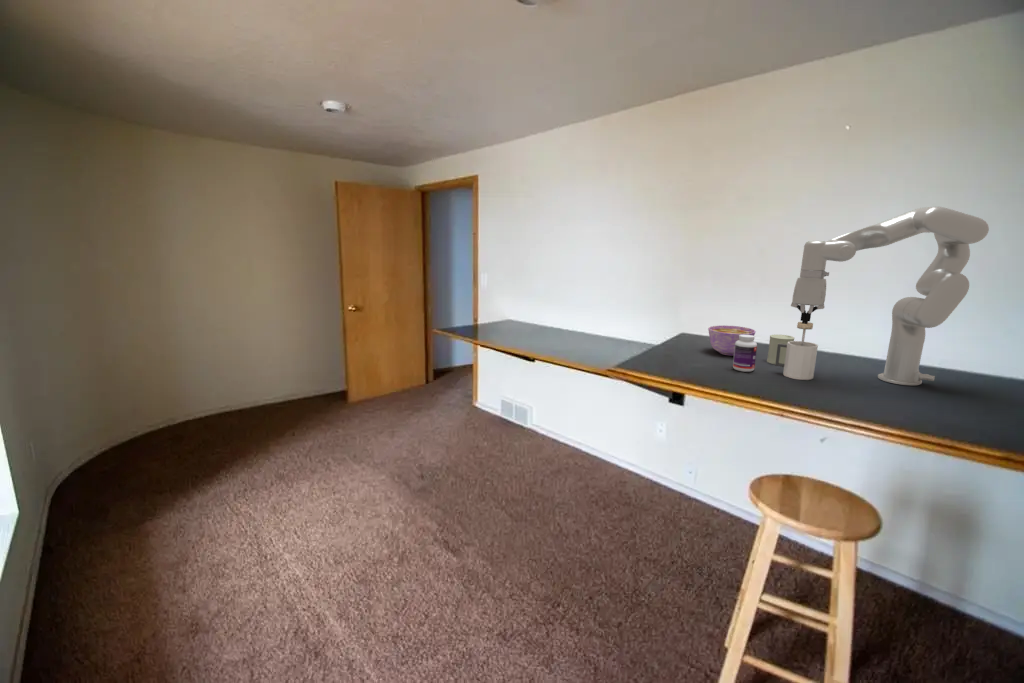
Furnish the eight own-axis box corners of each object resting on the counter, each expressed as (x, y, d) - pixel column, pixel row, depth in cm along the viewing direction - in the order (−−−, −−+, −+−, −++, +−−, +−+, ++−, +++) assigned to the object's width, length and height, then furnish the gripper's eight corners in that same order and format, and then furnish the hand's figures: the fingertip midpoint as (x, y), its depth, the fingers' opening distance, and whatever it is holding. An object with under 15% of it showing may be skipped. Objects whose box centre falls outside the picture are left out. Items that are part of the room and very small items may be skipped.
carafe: (814, 375, 176) (819, 343, 174) (811, 381, 169) (816, 348, 166) (776, 369, 184) (780, 338, 181) (772, 375, 177) (776, 343, 174)
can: (795, 365, 190) (799, 337, 188) (773, 365, 190) (777, 338, 188) (783, 359, 199) (786, 333, 197) (762, 359, 199) (765, 333, 197)
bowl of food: (697, 349, 218) (699, 326, 216) (734, 347, 222) (736, 324, 219) (723, 360, 199) (725, 334, 197) (763, 357, 203) (766, 332, 200)
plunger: (812, 357, 175) (817, 322, 171) (810, 361, 169) (815, 325, 166) (791, 354, 179) (795, 320, 176) (788, 358, 173) (793, 323, 170)
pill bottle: (755, 373, 180) (759, 338, 176) (733, 371, 182) (737, 337, 179) (752, 367, 187) (756, 334, 184) (731, 366, 190) (734, 333, 186)
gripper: (837, 275, 165) (829, 323, 169) (790, 273, 174) (783, 319, 178) (835, 276, 159) (827, 326, 164) (787, 274, 168) (780, 322, 172)
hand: (804, 322), depth 171 cm, fingers closed
